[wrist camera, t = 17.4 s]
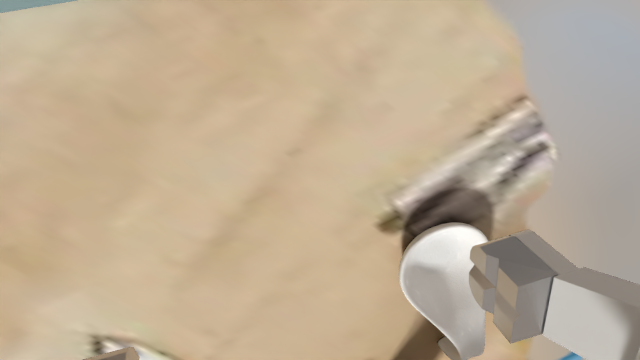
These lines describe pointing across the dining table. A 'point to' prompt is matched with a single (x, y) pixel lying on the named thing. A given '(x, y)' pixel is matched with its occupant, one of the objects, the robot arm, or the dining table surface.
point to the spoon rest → (446, 286)
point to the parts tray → (26, 4)
